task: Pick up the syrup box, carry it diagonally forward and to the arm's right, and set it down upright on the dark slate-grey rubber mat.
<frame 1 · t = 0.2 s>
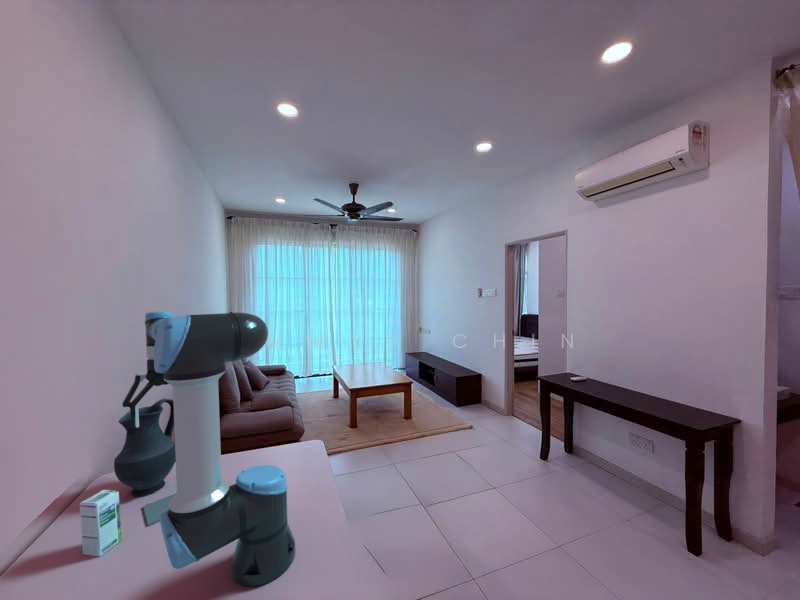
hand: (163, 420, 106), 28 cm above the table, fingers open, 13 cm apart
mat: (168, 507, 103), on the table
pitcher: (153, 486, 115), on the table
syrup box: (102, 548, 87), on the table
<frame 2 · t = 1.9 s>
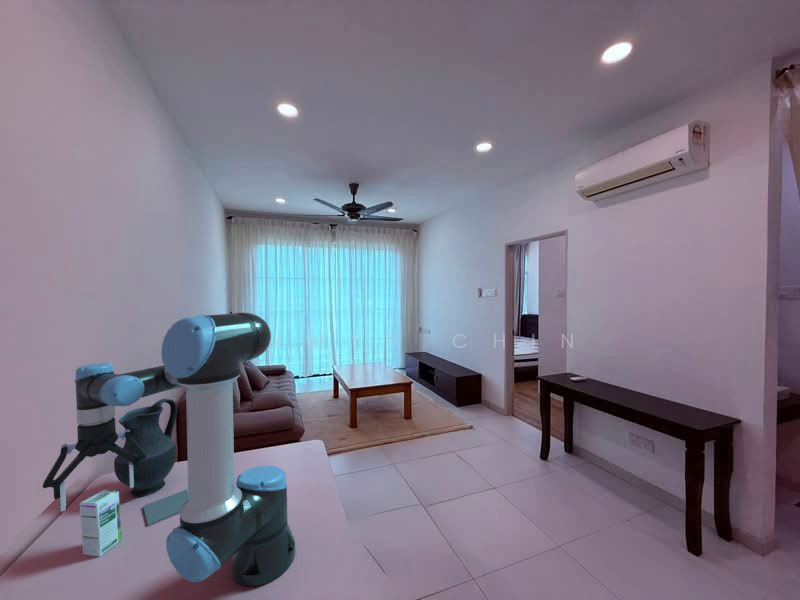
hand: (99, 496, 87), 14 cm above the table, fingers open, 13 cm apart
nothing on the table moved.
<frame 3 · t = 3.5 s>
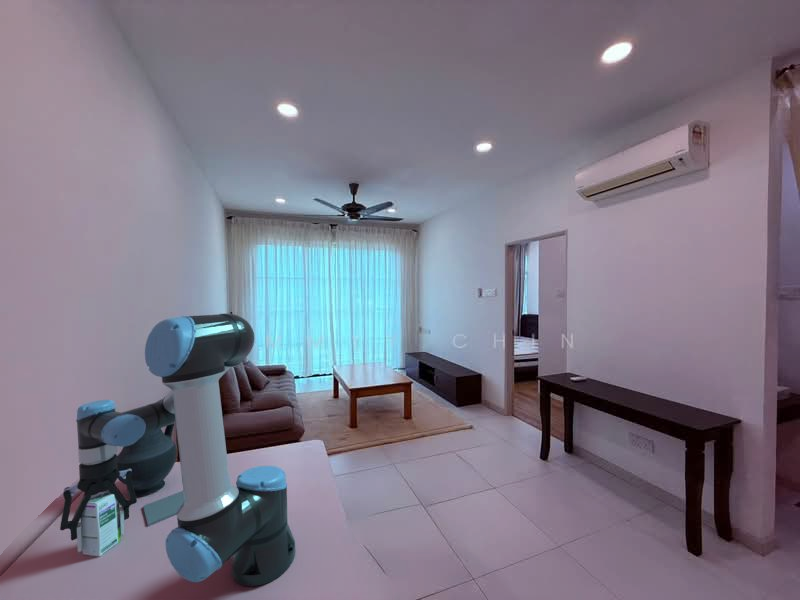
hand: (102, 539, 87), 2 cm above the table, fingers closed on syrup box, 8 cm apart
syrup box: (102, 548, 87), on the table, touching gripper
everything else where it was.
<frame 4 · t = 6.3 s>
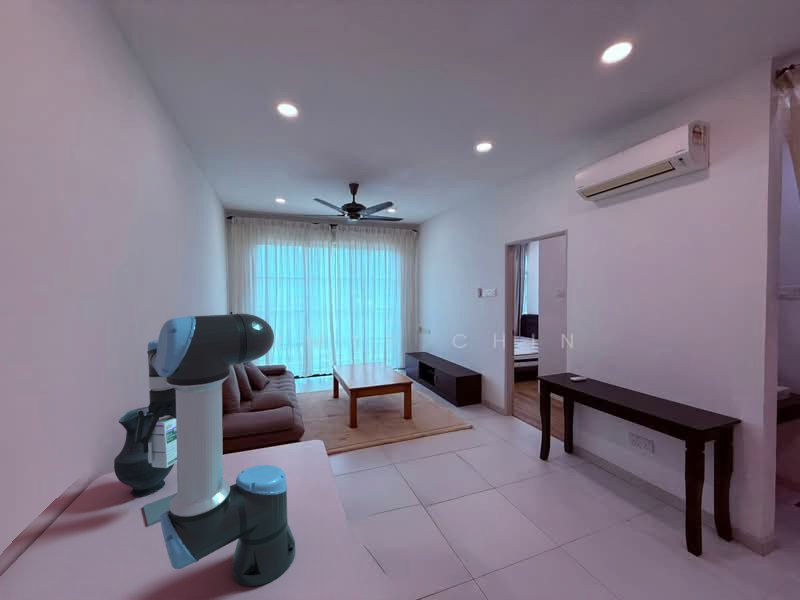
hand: (166, 456, 103), 17 cm above the table, fingers closed on syrup box, 8 cm apart
syrup box: (166, 463, 103), point 14 cm above the table, touching gripper
everything else where it was.
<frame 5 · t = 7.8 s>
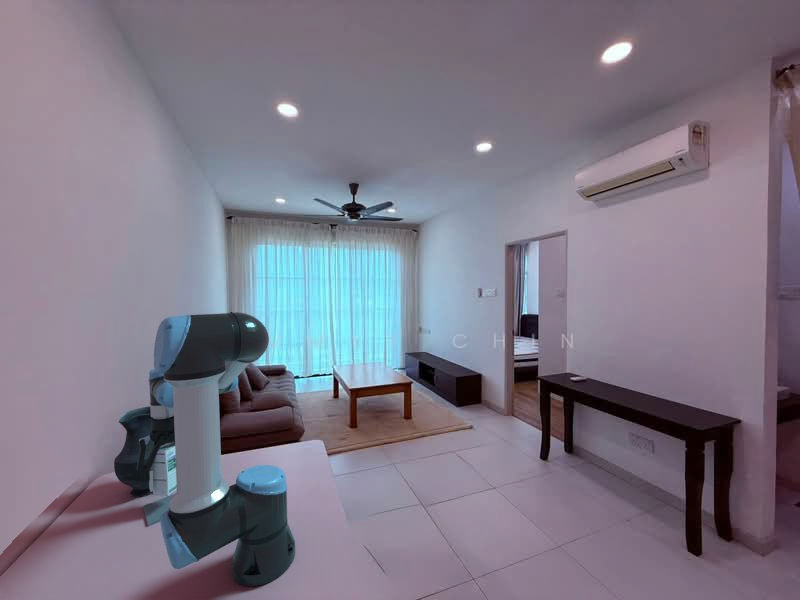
hand: (167, 483, 103), 8 cm above the table, fingers closed on syrup box, 8 cm apart
syrup box: (168, 490, 103), point 5 cm above the table, touching gripper
everything else where it was.
when the fingers open (4 cm above the table, at t = 9.0 s): syrup box drops 1 cm, resting on mat.
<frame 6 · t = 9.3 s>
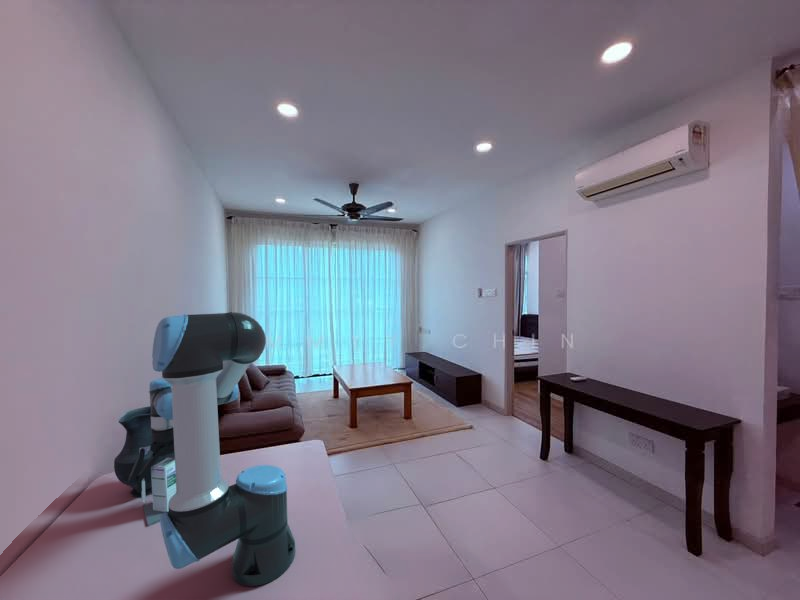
hand: (168, 491, 103), 5 cm above the table, fingers open, 12 cm apart
syrup box: (167, 506, 103), resting on mat
everything else where it was.
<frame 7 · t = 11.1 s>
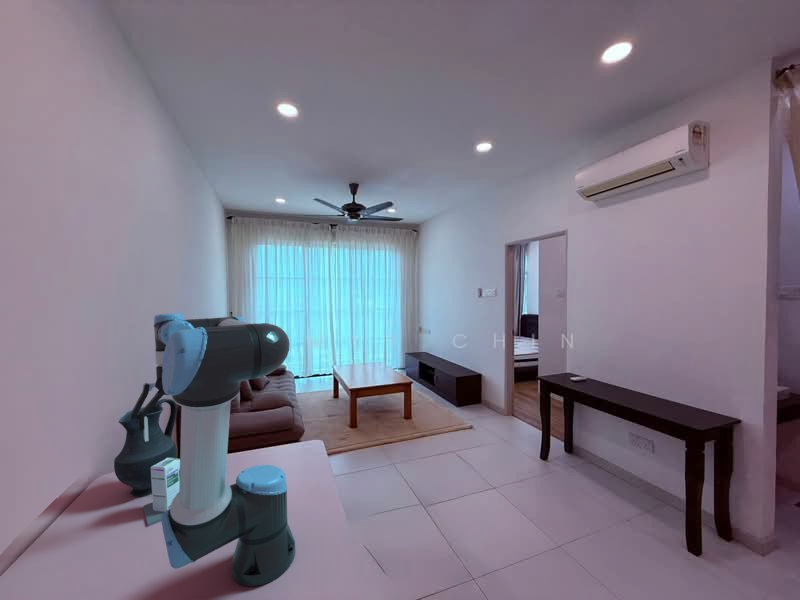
hand: (174, 432, 97), 27 cm above the table, fingers open, 13 cm apart
nothing on the table moved.
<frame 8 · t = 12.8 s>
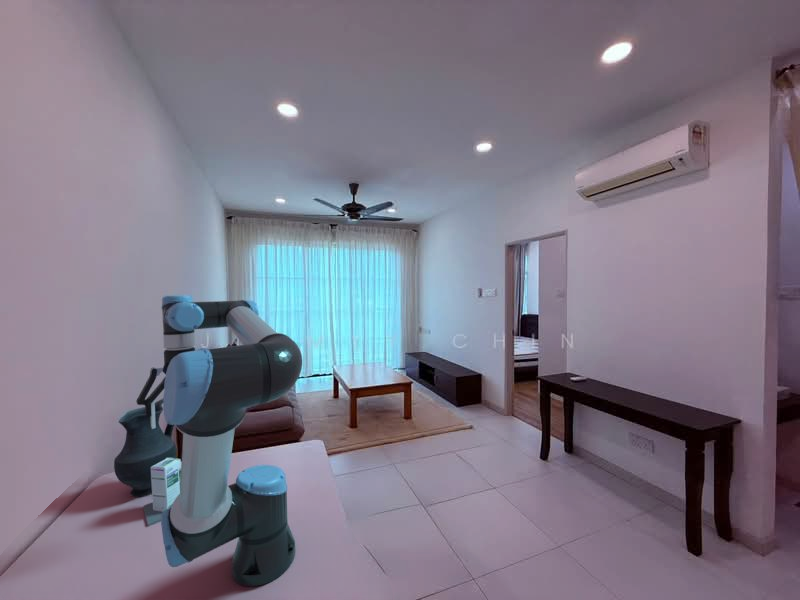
hand: (182, 419, 92), 33 cm above the table, fingers open, 13 cm apart
nothing on the table moved.
at the end: syrup box 0.3 cm from the mat (horizontally); syrup box tilted 0°; the gripper is holding nothing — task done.
